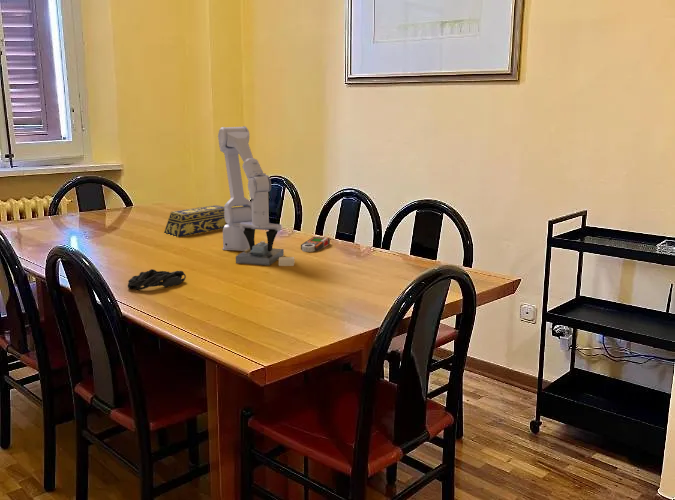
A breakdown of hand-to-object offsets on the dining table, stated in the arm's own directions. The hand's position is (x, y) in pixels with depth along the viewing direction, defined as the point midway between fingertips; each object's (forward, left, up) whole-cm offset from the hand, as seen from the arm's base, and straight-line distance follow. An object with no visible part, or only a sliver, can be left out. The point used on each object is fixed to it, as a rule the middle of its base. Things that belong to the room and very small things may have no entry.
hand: (261, 250), depth 228 cm
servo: (0, 0, -3) cm, 3 cm away
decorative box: (-42, +39, -4) cm, 58 cm away
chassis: (0, -1, -3) cm, 3 cm away
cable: (-20, -37, -4) cm, 42 cm away
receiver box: (+11, -5, -3) cm, 13 cm away
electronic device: (+13, +21, -4) cm, 25 cm away
